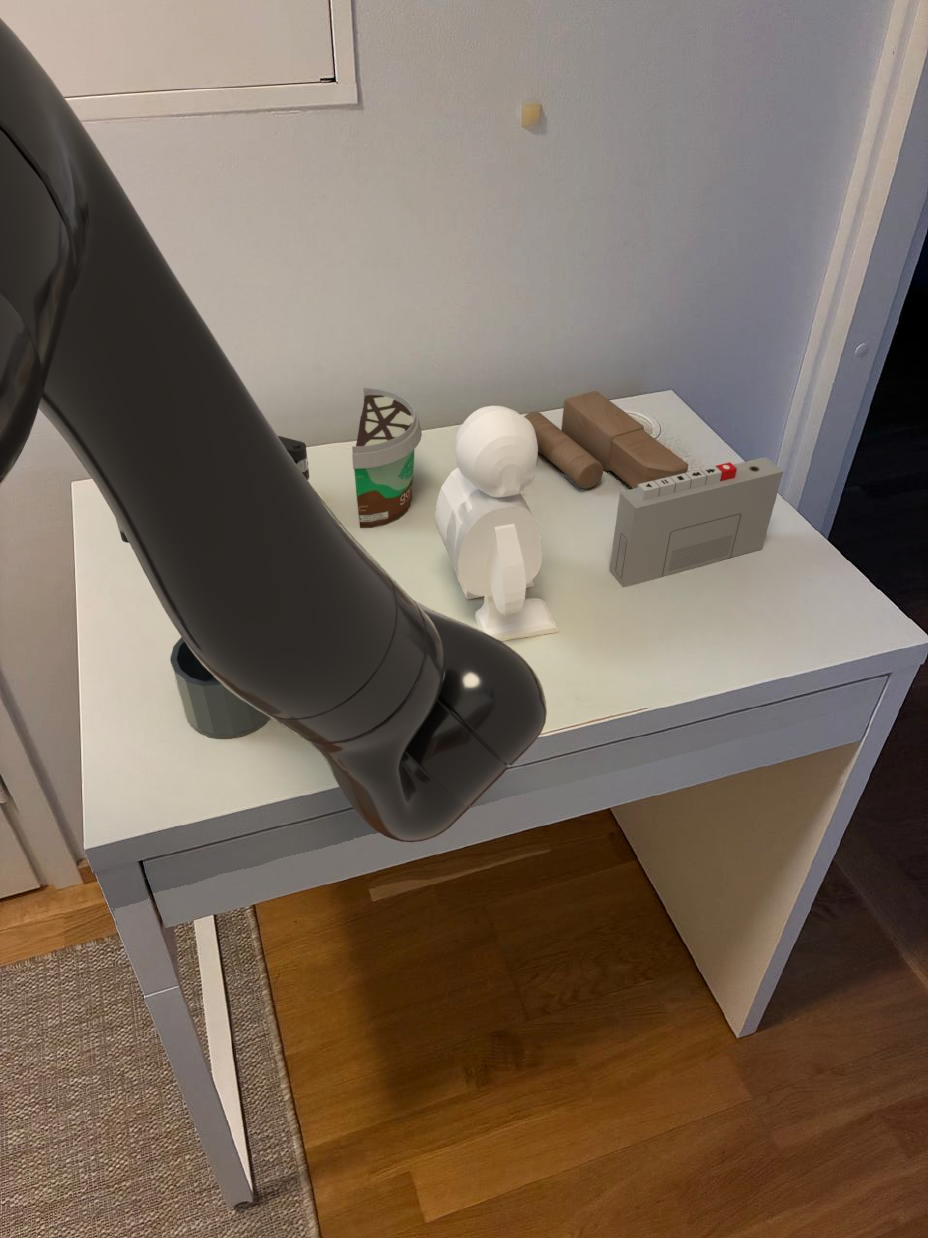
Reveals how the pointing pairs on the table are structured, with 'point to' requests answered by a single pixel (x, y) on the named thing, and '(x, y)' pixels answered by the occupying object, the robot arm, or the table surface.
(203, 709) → the crock
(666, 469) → the wooden block set
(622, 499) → the cassette player
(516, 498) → the toy robot
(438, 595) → the table surface
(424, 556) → the table surface
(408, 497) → the food container
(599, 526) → the table surface
